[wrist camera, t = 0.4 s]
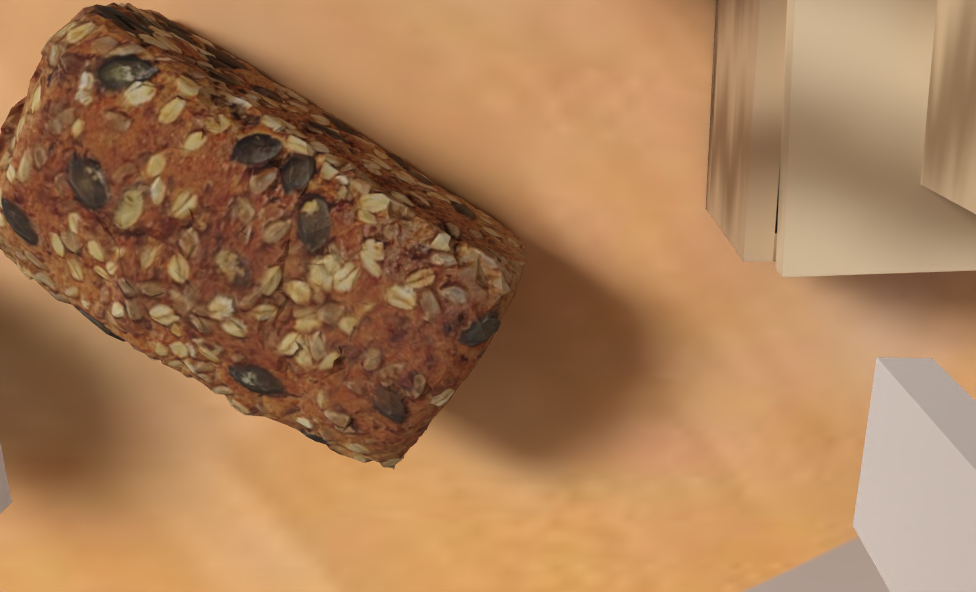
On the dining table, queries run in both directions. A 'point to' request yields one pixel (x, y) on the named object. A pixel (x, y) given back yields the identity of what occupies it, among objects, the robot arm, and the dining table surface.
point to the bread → (247, 234)
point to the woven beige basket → (747, 124)
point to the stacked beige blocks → (878, 138)
